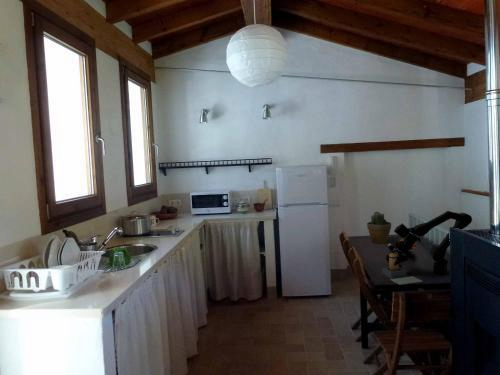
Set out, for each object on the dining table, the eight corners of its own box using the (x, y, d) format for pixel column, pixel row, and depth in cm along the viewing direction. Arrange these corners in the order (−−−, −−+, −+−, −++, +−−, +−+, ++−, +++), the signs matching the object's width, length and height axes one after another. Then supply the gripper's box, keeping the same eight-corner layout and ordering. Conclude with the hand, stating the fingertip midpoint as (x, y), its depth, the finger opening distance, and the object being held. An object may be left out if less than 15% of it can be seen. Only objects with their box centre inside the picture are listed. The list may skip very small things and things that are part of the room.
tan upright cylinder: (395, 272, 229) (395, 252, 228) (401, 274, 223) (400, 254, 222) (387, 273, 228) (386, 253, 227) (392, 275, 222) (391, 255, 221)
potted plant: (363, 240, 316) (362, 210, 314) (385, 238, 318) (384, 208, 316) (373, 245, 297) (372, 213, 295) (396, 243, 299) (395, 212, 297)
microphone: (405, 274, 237) (391, 261, 256) (408, 265, 236) (393, 253, 255) (396, 272, 236) (383, 259, 256) (399, 263, 235) (386, 251, 255)
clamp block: (397, 271, 232) (397, 265, 232) (408, 277, 221) (408, 270, 221) (380, 274, 230) (380, 267, 229) (390, 279, 219) (390, 273, 219)
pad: (412, 278, 219) (412, 276, 219) (422, 282, 211) (422, 281, 211) (390, 281, 217) (390, 279, 217) (399, 286, 208) (399, 284, 208)
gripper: (390, 231, 233) (374, 251, 232) (408, 237, 215) (391, 259, 214) (402, 243, 236) (386, 262, 234) (421, 250, 217) (404, 271, 216)
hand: (391, 263), depth 225 cm, fingers closed on tan upright cylinder, 5 cm apart
